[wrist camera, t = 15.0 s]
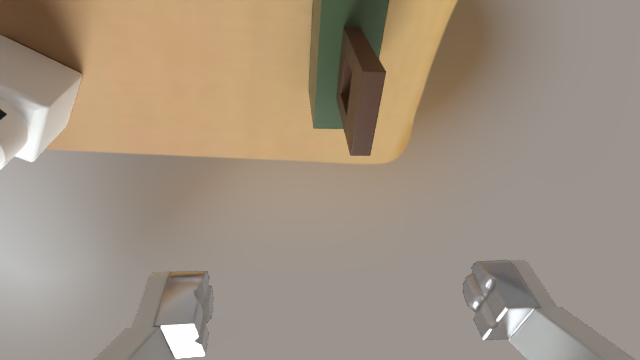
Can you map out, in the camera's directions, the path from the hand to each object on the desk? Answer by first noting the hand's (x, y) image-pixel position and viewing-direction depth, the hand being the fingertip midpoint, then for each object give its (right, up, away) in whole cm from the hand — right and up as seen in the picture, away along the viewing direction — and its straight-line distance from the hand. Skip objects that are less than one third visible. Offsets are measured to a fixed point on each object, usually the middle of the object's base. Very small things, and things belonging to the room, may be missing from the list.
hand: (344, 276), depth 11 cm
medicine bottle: (-29, +13, +25) cm, 41 cm away
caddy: (+1, +17, +24) cm, 30 cm away
